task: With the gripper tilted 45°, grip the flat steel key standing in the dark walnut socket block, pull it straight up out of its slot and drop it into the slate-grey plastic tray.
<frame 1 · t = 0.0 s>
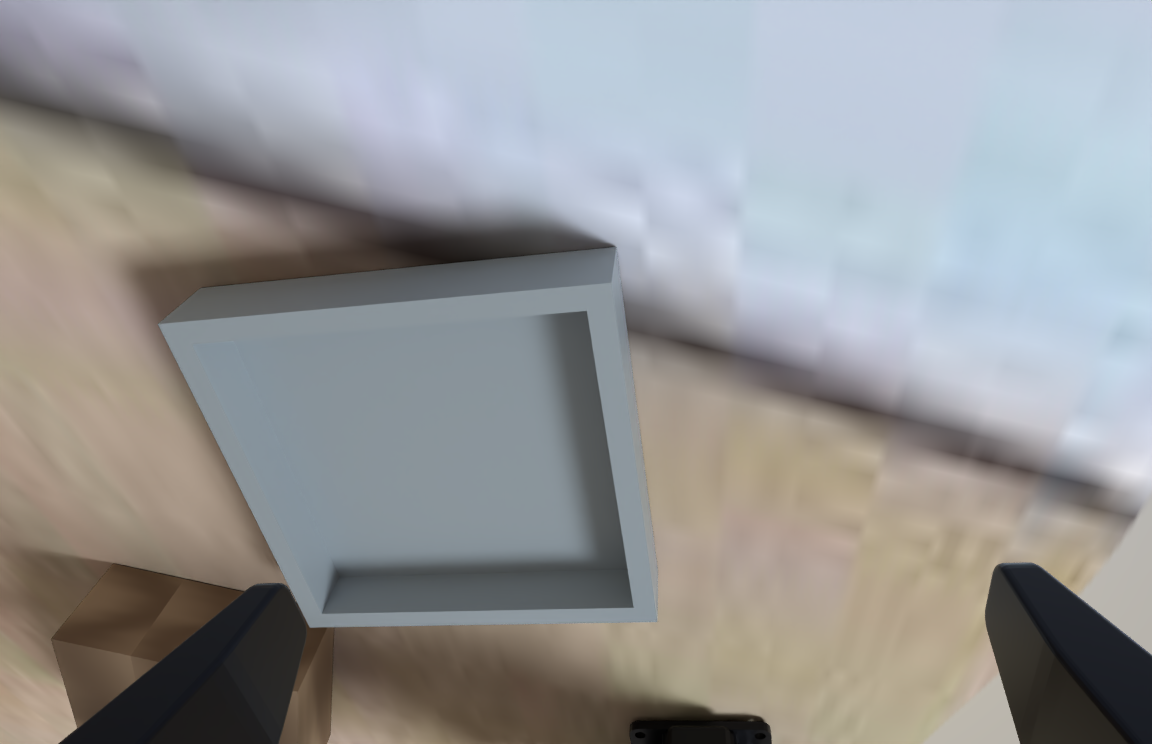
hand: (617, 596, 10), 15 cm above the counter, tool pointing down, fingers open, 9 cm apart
key tray: (449, 442, 28), on the counter
key socket: (230, 656, 36), on the counter
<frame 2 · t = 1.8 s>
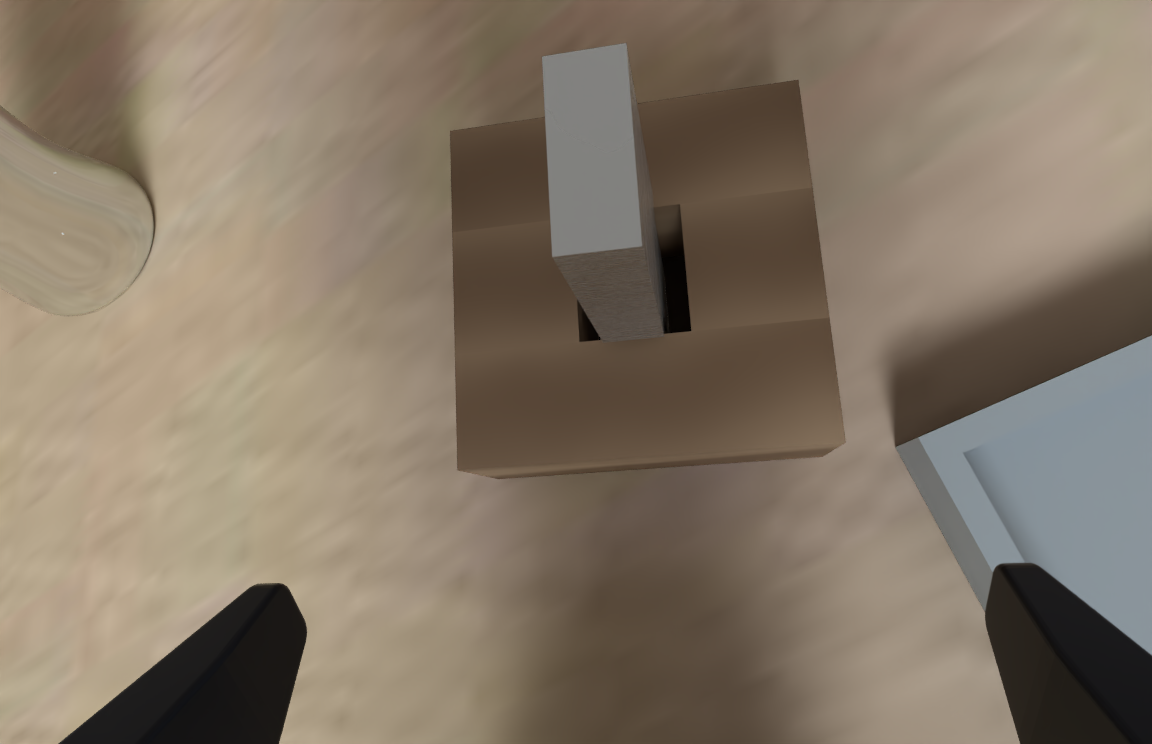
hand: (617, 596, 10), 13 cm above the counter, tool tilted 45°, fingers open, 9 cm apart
key socket: (642, 312, 24), on the counter
beer glass: (88, 242, 29), on the counter
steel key: (623, 253, 19), in the key socket
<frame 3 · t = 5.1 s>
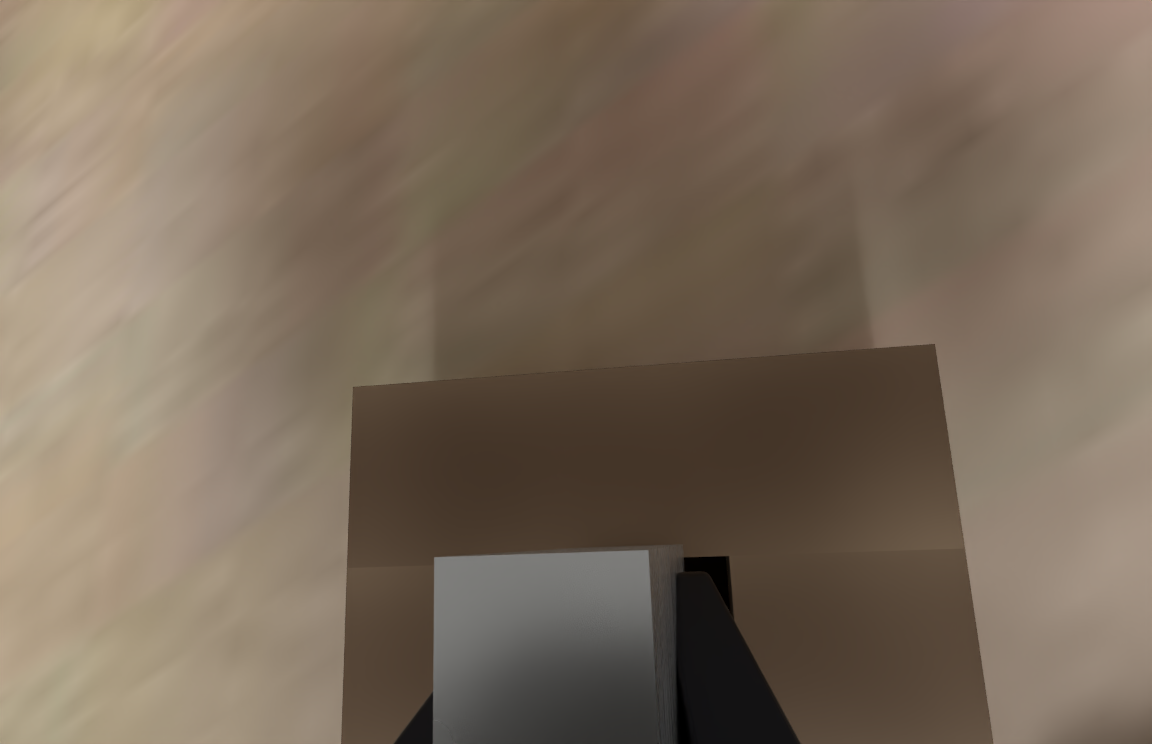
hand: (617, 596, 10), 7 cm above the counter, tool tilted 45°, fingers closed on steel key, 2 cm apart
key socket: (658, 643, 16), on the counter
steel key: (631, 695, 10), in the key socket, touching gripper
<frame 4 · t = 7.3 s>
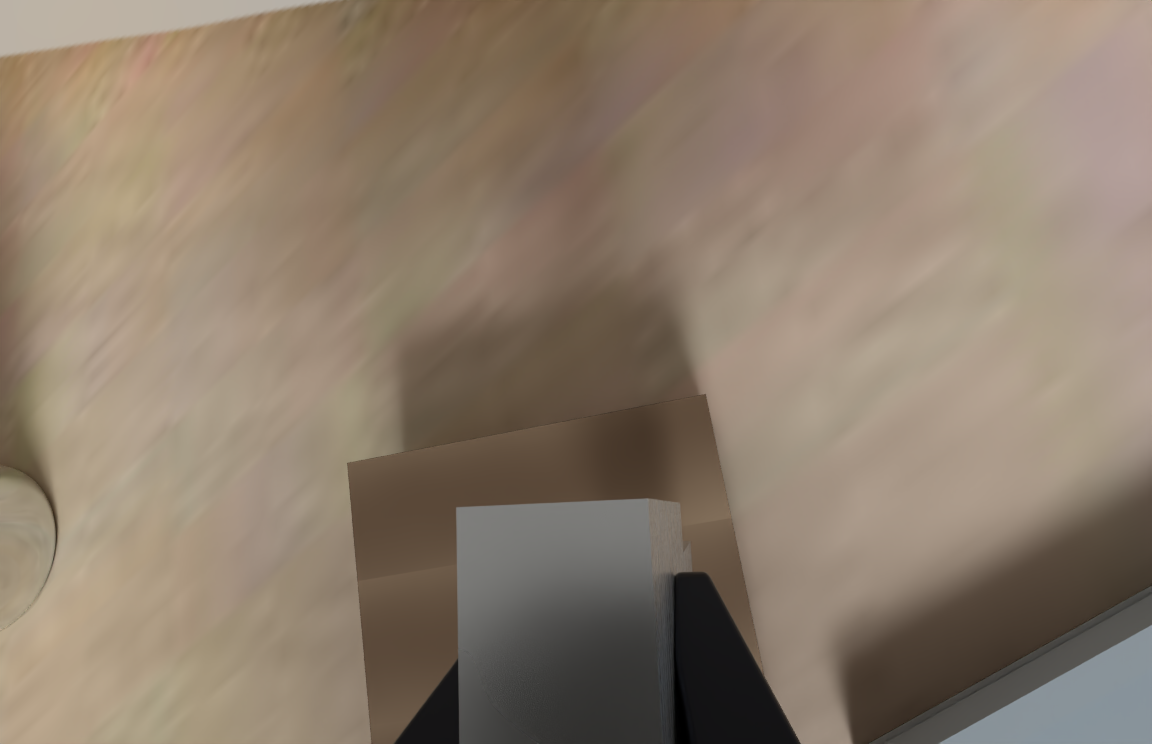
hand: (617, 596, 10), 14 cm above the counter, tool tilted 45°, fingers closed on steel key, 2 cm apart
key socket: (576, 608, 23), on the counter
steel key: (632, 642, 11), point 12 cm above the counter, touching gripper
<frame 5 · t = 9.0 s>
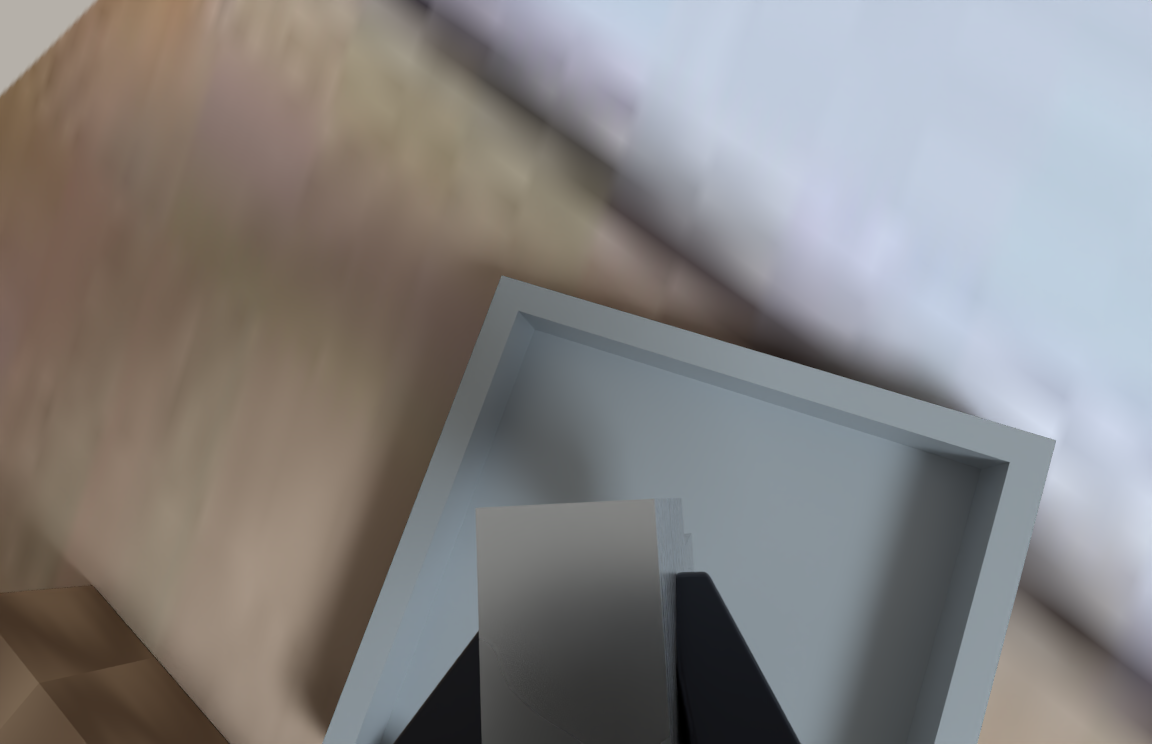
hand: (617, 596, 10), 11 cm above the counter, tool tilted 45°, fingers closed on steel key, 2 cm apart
key tray: (670, 614, 20), on the counter
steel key: (636, 631, 12), point 9 cm above the counter, touching gripper
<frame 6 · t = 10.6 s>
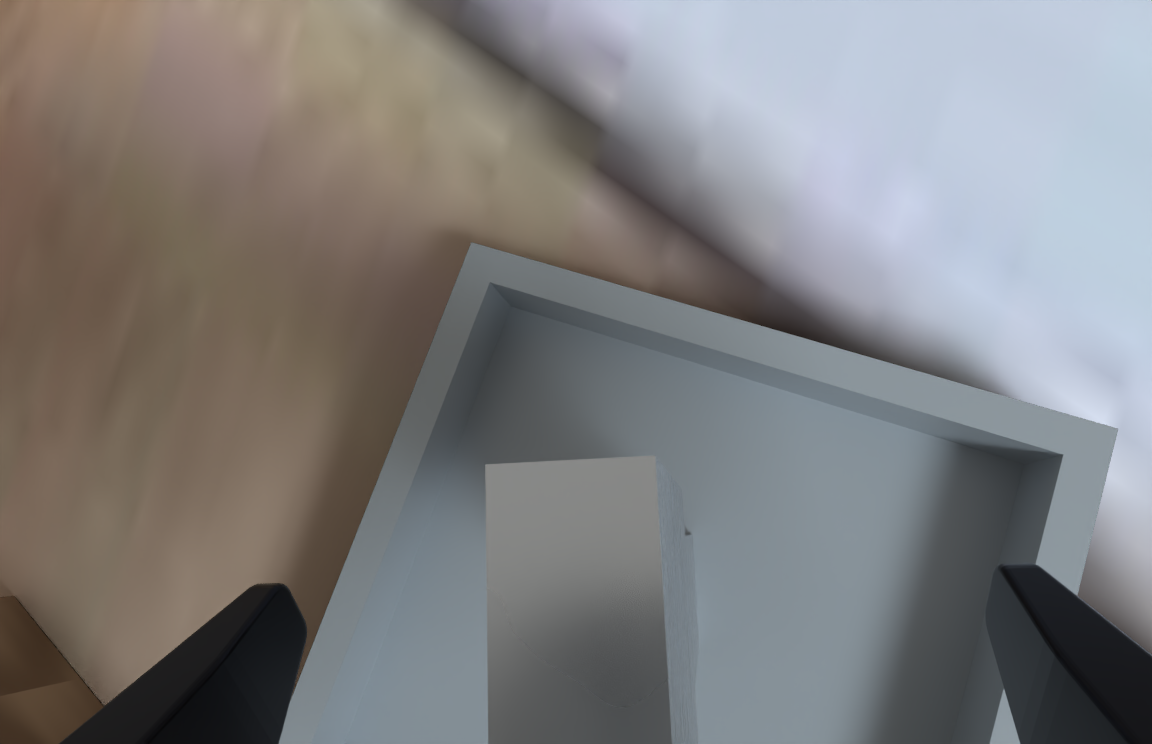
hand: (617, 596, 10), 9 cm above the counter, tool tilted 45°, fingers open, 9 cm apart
key tray: (664, 631, 17), on the counter
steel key: (637, 617, 12), in the key tray, point 6 cm above the counter
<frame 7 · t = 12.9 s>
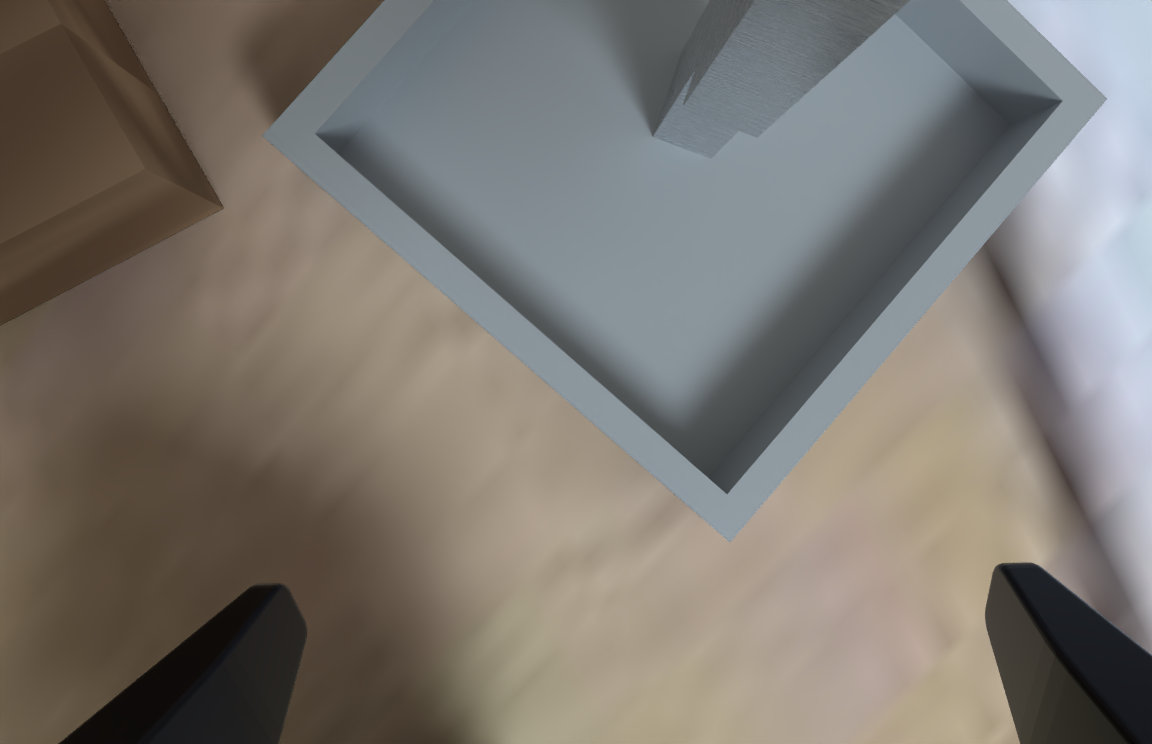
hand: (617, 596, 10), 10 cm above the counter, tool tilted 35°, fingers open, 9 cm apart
key tray: (679, 146, 20), on the counter
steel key: (770, 3, 14), in the key tray, point 6 cm above the counter
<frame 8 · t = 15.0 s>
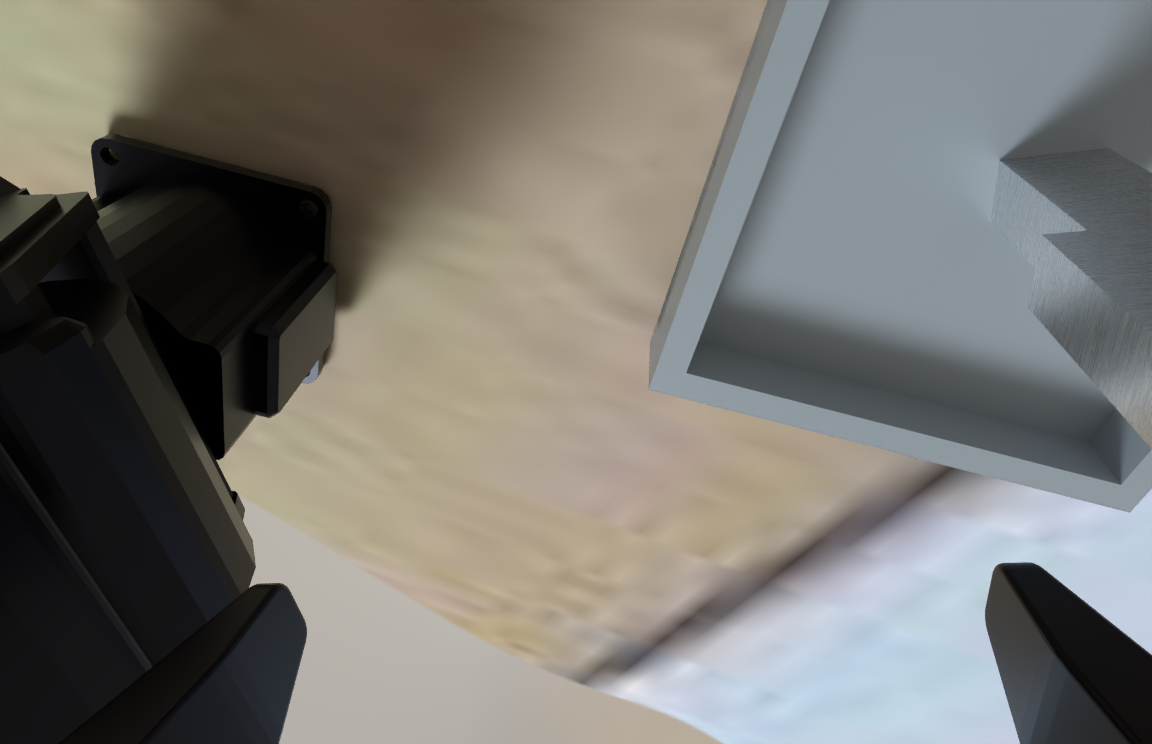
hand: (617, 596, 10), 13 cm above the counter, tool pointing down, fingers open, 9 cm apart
key tray: (994, 183, 19), on the counter
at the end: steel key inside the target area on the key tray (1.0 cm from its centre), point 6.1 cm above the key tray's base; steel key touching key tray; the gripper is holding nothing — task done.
